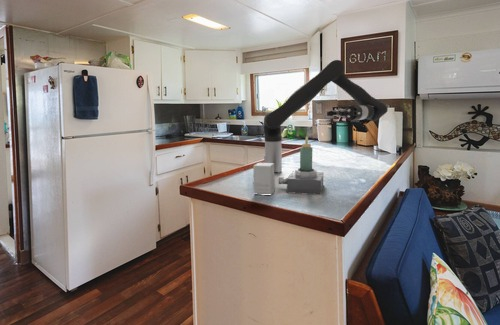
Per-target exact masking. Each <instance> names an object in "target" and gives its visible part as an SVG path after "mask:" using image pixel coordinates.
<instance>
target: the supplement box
mask: <svg viewBox="0 0 500 325" xmlns="http://www.w3.org/2000/svg"><path fill="white" fill-rule="evenodd" d="M252 169H253V194H254V193H257V194H272V193H273V192H274V191H275V190H276V187H275V183H276V182H275V173H274V163H264V162H257V163H255V164H254V165H253V167H252ZM274 193H275V192H274ZM274 193H273V194H274ZM273 194H272V195H273Z"/></svg>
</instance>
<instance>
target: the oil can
mask: <svg viewBox="0 0 500 325" xmlns="http://www.w3.org/2000/svg"><path fill="white" fill-rule="evenodd" d="M299 150H300V151H299V152H300V153H299V154H300V155H299V168H300V171H304V172H310V171H312V168H313V147H312V145H311V143H309V137H308V136H305V142H304V143H302V144H301V147H300V148H299Z"/></svg>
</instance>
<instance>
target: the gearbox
mask: <svg viewBox="0 0 500 325" xmlns="http://www.w3.org/2000/svg"><path fill="white" fill-rule="evenodd" d="M277 182H278V185H286V193H287V192H295V193H294V194H302V193H307V194H306V195H320V194H321V195H322V191H323V187H324V171H317V169H316V168H313V167H312V171H310V172H304V171H300V167H299V168H296V169H295V170H292V172H291V173H290V174H289V176H288V177H278V181H277Z"/></svg>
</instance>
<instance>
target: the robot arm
mask: <svg viewBox="0 0 500 325" xmlns="http://www.w3.org/2000/svg"><path fill="white" fill-rule="evenodd" d="M344 72H345V63H344V62H343V61H342V60H339V59H334V60H331V61H329V63H328V64H326V66H325V67H323V69H322V70H320V71H319V73H318V74H316V75H315V76H314V77H312V78H311V79H309V80H307V81H306V82H305V83H304V84H303V85H301V86H300V87H298V88H297V89H296V90H295V91H294V92H293V93H291V95H290V96H289V97H288V98H287V100H286V101H285V102H284V103H283V104H281V105H280V106H278V107H277V108H276V109H274V110H272V111H268V112H267V113H266V114H265V116H264V118H263V134H264V136H263V137H264V155H263V163H274V172H278V173H281V171H282V170H283V169H282V168H283V167H282V166H283V165H282V164H283V163H282V162H283V161H282V158H283V157H282V154H283V153H282V143H283V142H282V133H281V126H282V125H283V124H284V123H285V122H286V120H288V119H289V118H290V117H291V116H292V115H293V114H295V113H296V112H298V111H299V110H301V109H302V108H303V107H305V106H306V105H308V104H309V103H310V102H311V101H313V100H314V98H316V96H317V95H318V94H320V92H322V90H323V89H324V88H325V87H326V86H327V85H328V84H330V83H331V82H332V83H334V84H335V85H337V87H339V88H341V89H342V90H343V91H344V92H345V93H346V94H348V95H349V96H350V97H351V98H352V99H353V100H354V101H355V103H357V104H351V105H348V106H347V107H346V108H342V109H336V110H329V111H326V116H327V117H335V116H336V117H337V118H341V117H342V118H346V119H347V120H348V121H361V120H368V121H370V122H376V121H378V120H379V119H380V118H382V117H383V116H384V115H385V114H386V113H387V112H388V106H387V105H386V103H385V102H383V101H380V100H379V99H377V98H375V97H373V96H372V95H371V94H369V92H367V90H365V89H364V88H363V87H362V86H360V85H359V84H357V83H355V82H354V81H352V80H351V79H350V78H348V77H347V76H346V75H345V73H344Z"/></svg>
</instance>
